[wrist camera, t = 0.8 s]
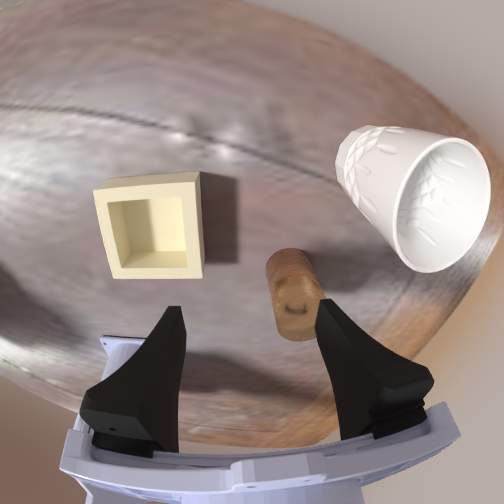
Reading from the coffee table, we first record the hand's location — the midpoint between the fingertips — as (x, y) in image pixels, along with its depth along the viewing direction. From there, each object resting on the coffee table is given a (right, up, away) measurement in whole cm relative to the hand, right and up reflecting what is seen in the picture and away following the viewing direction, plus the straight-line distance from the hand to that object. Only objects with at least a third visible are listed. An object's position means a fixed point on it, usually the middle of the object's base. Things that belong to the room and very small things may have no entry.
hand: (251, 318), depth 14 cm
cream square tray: (-8, +6, +7) cm, 12 cm away
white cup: (+10, +11, +6) cm, 16 cm away
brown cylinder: (+3, +2, +11) cm, 11 cm away
